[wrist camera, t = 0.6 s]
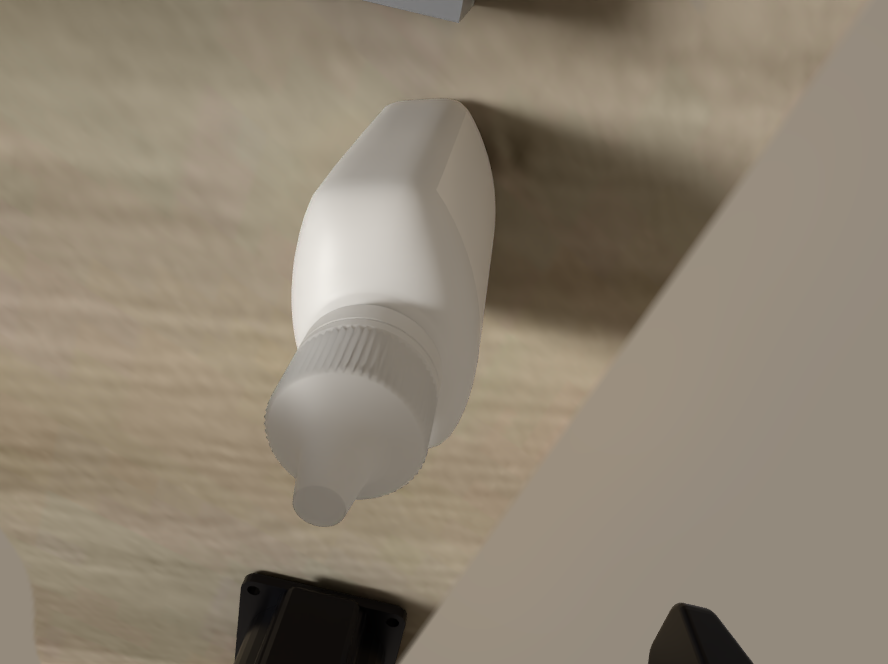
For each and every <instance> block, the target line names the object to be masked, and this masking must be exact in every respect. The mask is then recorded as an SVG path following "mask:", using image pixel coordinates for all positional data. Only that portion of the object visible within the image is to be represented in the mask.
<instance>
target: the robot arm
mask: <svg viewBox="0 0 888 664" xmlns="http://www.w3.org/2000/svg"><path fill="white" fill-rule="evenodd" d="M406 618H407V613H406V611H405V610H404V609H403V608H401V607H399V606H396V605H392V604H387V603H383V602H379V601H374V600H370V599H366V598H361V597H357V596H353V595H348V594H344V593H340V592H335V591H331V590H326V589H322V588H318V587H313V586H309V585H305V584H300V583H296V582H292V581H287V580H283V579H279V578H274V577H270V576H266V575H261V574H255V573H252V574H248V575H247V576H246V577H245V579H244V582H243V584H242V586H241V593H240V605H239V617H238V629H237V641H236V653H235V662H234V664H395V661H396V658H397V654H398V650H399V647H400V643H401V639H402V635H403V632H404V628H405V624H406ZM648 664H753V662H752V661H751V660H750V659H749V657H748V656H747V655H746V653H745V652H744V651H743V649H742V648H741V647H740V645H739V644H738V643H737V641H736V640H735V639H734V638H733V636H732V635H731V634H730V633H729V631H728V630H727V629H726V627H725V626H724V625H723V624H722V622H721V621H720V619H719V618H718V617H717V616H716V615H715V614H714V613H713V612H712V611H711V610H709V609H707V608H703V607H699V606H694V605H690V604H685V603H677V604H676V605H674V606H673V607H672V609H671V610H670V612H669V614H668V616H667V617H666V619H665V621H664V623H663V625H662V627H661V629H660V631H659V632H658V634H657V636H656V638H655V640H654V641H653V644H652V646H651V649H650V653H649V662H648Z"/></svg>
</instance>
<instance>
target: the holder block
mask: <svg viewBox="0 0 888 664" xmlns="http://www.w3.org/2000/svg"><path fill="white" fill-rule="evenodd" d="M364 1H368V2H372V3H377V4H381V5H385V6H389V7H394V8H398V9H402V10H406V11H411V12H415V13H419V14H423V15H428V16H432V17H436V18H440V19H444V20H449V21H453V22H457V23H459V22H460V21H461V20H462V18H463V17H464V16H465V15H466V14H467V12H468V11H469V10H470V9H471V8H472V7H473V5H474V1H475V0H364Z"/></svg>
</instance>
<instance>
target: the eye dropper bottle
mask: <svg viewBox="0 0 888 664" xmlns="http://www.w3.org/2000/svg"><path fill="white" fill-rule="evenodd" d="M495 216H496V205H495V190H494V182H493V176H492V171H491V166H490V162H489V158H488V155H487V152H486V149H485V145H484V143H483V140H482V137H481V135H480V132H479V130H478V128H477V126H476V123H475V121H474V119H473V118H472V116H471V114H470V112H469V111H468V109H467V108H466V107H465V106H464V105H463V104H462V103H461V102H459V101H456V100H452V99H421V100H405V101H397V102H394V103H392V104H389V105H387V106H386V107H385V108H384V109H383V110H382V111H381V112H380V113H379V114H378V116H377V117H376V118H375V119H374V120H373V121H372V123H371V124H370V125H369V126H368V127H367V128H366V130H365V131H364V132H363V133H362V134H361V135H360V137H359V138H358V139H357V140H356V141H355V143H354V144H353V145H352V146H351V147H350V148H349V150H348V151H347V152H346V153H345V154H344V156H343V157H342V158H341V159H340V160H339V162H338V163H337V164H336V165H335V167H334V168H333V169H332V170H331V172H330V173H329V174H328V176H327V177H326V178H325V180H324V181H323V182H322V184H321V185H320V186H319V188H318V189H317V190H316V192H315V193H314V194H313V196H312V199H311V201H310V203H309V206H308V208H307V211H306V213H305V216H304V219H303V223H302V226H301V230H300V234H299V239H298V243H297V248H296V253H295V259H294V266H293V277H292V317H293V327H294V334H295V340H296V344H297V348H298V350H297V352H296V353H295V355H294V357H293V359H292V360H291V362H290V364H289V366H288V367H287V369H286V371H285V373H284V374H283V376H282V378H281V380H280V381H279V383H278V385H277V387H276V388H275V390H274V392H273V394H272V395H271V398H270V400H269V402H268V406H267V408H266V415H265V416H264V417H265V420H266V421H265V423H264V424H265V427H266V429H265V432H266V434H267V437H266V438H267V439H268V441H269V446H270V447H271V449H272V452H273V453H274V455H275V456H276V458H277V460H278V461H279V462H280V464H281V465H282V466H283V467H284V468H285V469H286V470H287V471H288V472H289V473H290V474H291V475H292V476H293V477H294V478H296V482H295V489H294V495H293V507H294V510H295V512H296V513H297V514H298V516H299V517H300V518H302V519H303V520H304V521H306V522H308V523H310V524H312V525H316V526H321V527H327V526H333V525H336V524H338V523H339V522H340V521H342V520H343V518H344V517H345V515H346V514H347V512H348V510H349V509H350V507H351V506H352V504H353V502H354V501H355V499H359V500H361V499H371V498H376V497H382V496H384V495H388V494H389V493H392V492H395V491H396V490H397V489H400V488H402V487H403V486H404V485H406V484H408V482H409V481H410V480H412V479H413V478H414V476H415V475H417V474H418V470H419V469H421V468H422V464H423V463H424V462H425V457H426V456H427V451H428V448H432V447H435V446H438V445H440V444H441V443H442V442H444V441H445V440H446V439H447V438H448V437H449V436H450V435H451V434H452V432H453V431H454V429H455V427H456V426H457V424H458V422H459V420H460V418H461V416H462V414H463V412H464V409H465V407H466V404H467V402H468V399H469V396H470V392H471V389H472V385H473V381H474V377H475V372H476V367H477V362H478V354H479V347H480V340H481V333H482V325H483V317H484V310H485V302H486V294H487V287H488V279H489V271H490V263H491V255H492V247H493V239H494V231H495Z"/></svg>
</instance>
